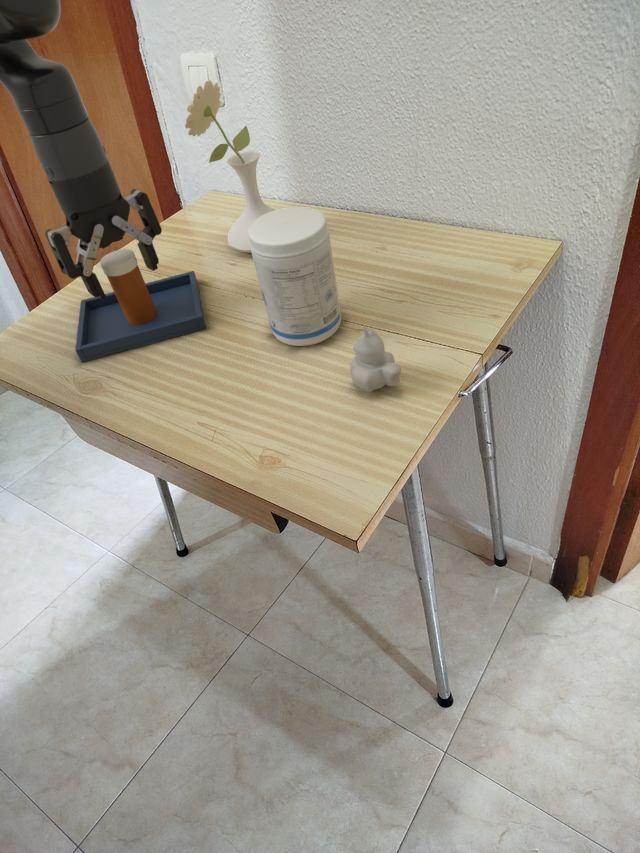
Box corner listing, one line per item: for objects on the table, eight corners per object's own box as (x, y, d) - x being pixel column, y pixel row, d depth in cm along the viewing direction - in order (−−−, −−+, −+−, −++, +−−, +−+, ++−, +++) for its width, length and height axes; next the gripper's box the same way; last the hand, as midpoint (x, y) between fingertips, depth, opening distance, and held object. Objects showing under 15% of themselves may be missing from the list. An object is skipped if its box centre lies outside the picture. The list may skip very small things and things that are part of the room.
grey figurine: (367, 363, 71) (361, 307, 66) (414, 380, 68) (411, 322, 62) (340, 389, 68) (331, 333, 63) (388, 408, 65) (382, 351, 59)
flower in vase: (270, 220, 104) (234, 58, 86) (311, 237, 97) (280, 65, 79) (209, 251, 99) (157, 86, 81) (247, 271, 92) (200, 96, 74)
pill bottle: (126, 329, 84) (99, 270, 77) (126, 312, 87) (100, 254, 81) (158, 320, 84) (134, 260, 78) (157, 304, 88) (133, 245, 81)
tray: (81, 362, 81) (75, 350, 79) (86, 311, 91) (80, 300, 89) (206, 328, 82) (201, 316, 81) (197, 282, 92) (193, 270, 90)
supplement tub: (271, 313, 82) (246, 212, 72) (338, 301, 82) (323, 198, 71) (272, 355, 75) (245, 250, 65) (346, 342, 75) (330, 234, 64)
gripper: (112, 138, 76) (155, 253, 87) (9, 181, 70) (69, 298, 81) (141, 147, 72) (183, 266, 83) (34, 193, 66) (94, 315, 77)
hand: (127, 282), depth 82 cm, fingers open, 8 cm apart
